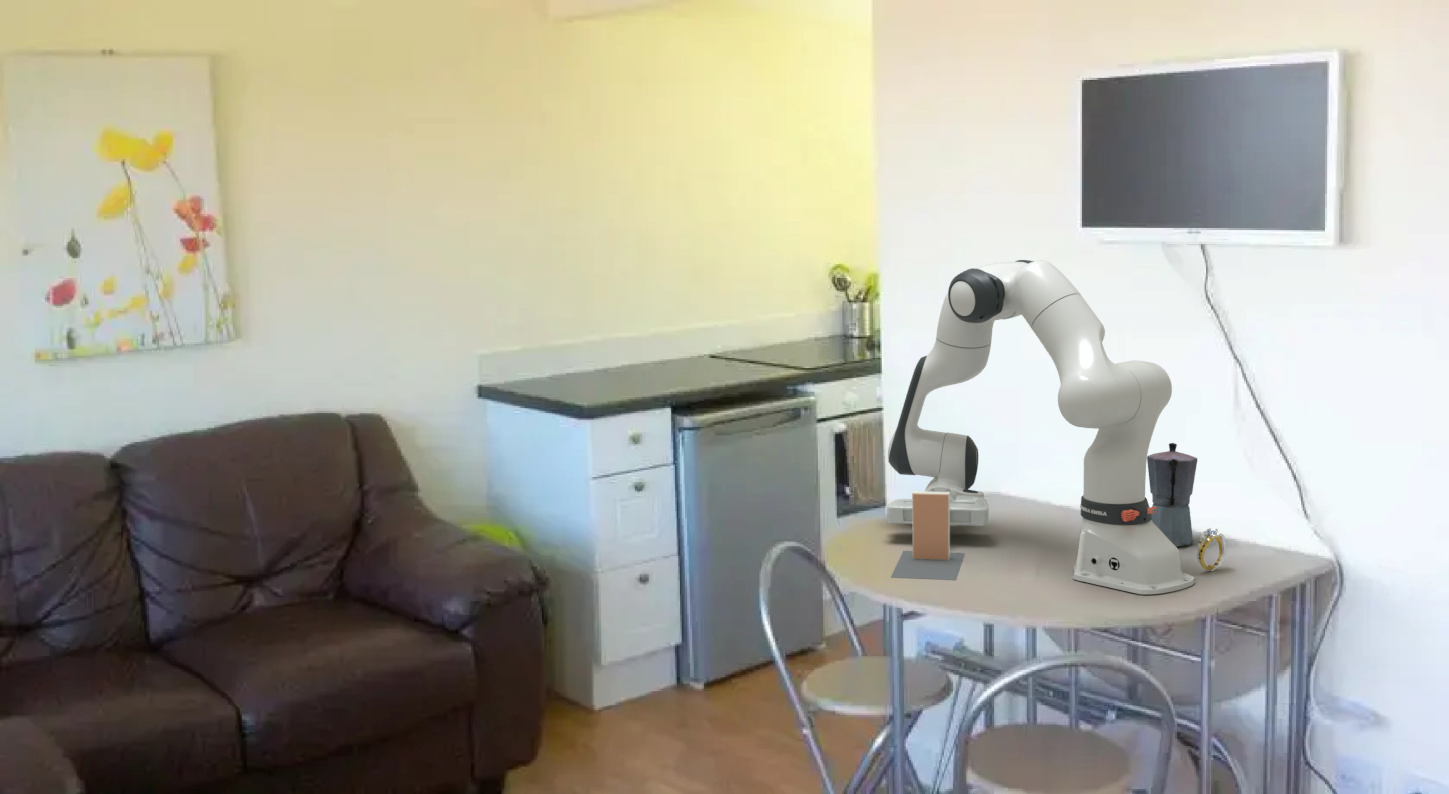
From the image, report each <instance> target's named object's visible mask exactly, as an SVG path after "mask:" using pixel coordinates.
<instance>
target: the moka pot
mask: <svg viewBox="0 0 1449 794" xmlns="http://www.w3.org/2000/svg"><path fill="white" fill-rule="evenodd" d="M1177 446H1178V445H1177V443H1174V442H1170V443H1168V448H1169V450H1167V451H1161V452H1156V453H1152V454H1150V455H1147V461H1146V463H1147V472H1148V481H1149V488H1150V489H1149V490H1150V493H1151V495H1152V499H1151V500H1152V503H1153V504H1152V505H1151V507H1155V506H1156V507H1157V508H1155V509H1154V510H1152V511H1157V512H1156V513H1151V514H1152V521H1153V522H1154V524H1155V525H1156V526H1157V527H1158V528H1159V529H1160V530H1161V531H1162V532H1163V534H1164V535H1165V536H1166V537H1167V538H1168V539H1169V540H1170V541H1171V542H1172V543H1173V544H1174V545H1175V546H1176V547H1183V546H1184V547H1186V546H1190V545H1193V544H1194V539H1193V537H1194V536H1193V527H1192V517H1191V510H1190V501H1191V496H1192V495H1193V491H1194V490H1193V489H1194V485H1195V484H1194V483H1195V477H1196V471H1197V464H1198V458H1197V457H1196V456H1193V455H1189V454H1186V453H1183V452H1179V451H1176V450H1177Z"/></svg>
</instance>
